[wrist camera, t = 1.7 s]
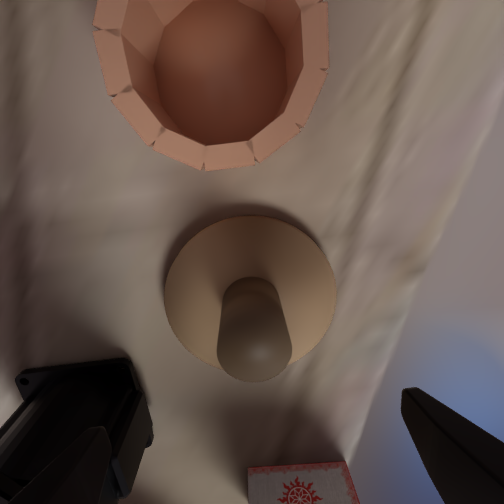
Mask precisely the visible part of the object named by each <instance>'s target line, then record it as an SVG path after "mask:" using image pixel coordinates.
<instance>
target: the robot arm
mask: <svg viewBox="0 0 504 504" xmlns="http://www.w3.org/2000/svg"><path fill="white" fill-rule="evenodd" d="M120 366H122V367H124V368H125V369H122V368H121V367H120ZM27 379H28V380H27ZM15 382H16V385H17V387H18V389H19V391H20V393H21V395H22V398H23V400H24V402H23V403H22V404H21V405H20V406H19V407H18V409H17V410H16V411H15V412H14V413H13V414H12V415H11V417H10V418H9V419H8V420H7V421H6V422H5V423H4V425H3V426H2V427H1V428H0V504H118V501H119V499H124V498H126V497H127V496H128V495H129V494H130V492H131V490H132V487H133V483H134V480H135V477H136V474H137V471H138V468H139V465H140V462H141V459H142V456H143V453H144V450H145V448H147V447H149V446H151V444H152V441H153V438H154V435H153V432H152V425H153V423H152V419H151V416H150V413H149V409H148V406H147V403H146V399H145V396H144V393H143V392H142V391H141V390H140V388H139V385H138V381H137V378H136V375H135V371H134V368H133V365H132V363H131V361H130V360H129V359H126V358H117V359H109V360H101V361H92V362H84V363H76V364H67V365H59V366H51V367H42V368H34V369H26V370H23V371H22V372H21V373H20V374H19V375H18V376H17V377H16V378H15ZM401 414H402V417H403V420H404V422H405V424H406V426H407V428H408V431H409V433H410V435H411V437H412V439H413V442H414V444H415V446H416V448H417V451H418V453H419V455H420V457H421V459H422V461H423V464H424V466H425V468H426V470H427V472H428V474H429V476H430V478H431V480H432V482H433V483H434V485H435V487H436V489H437V491H438V492H439V494H440V496H441V498H442V499H443V501H444V503H445V504H504V443H503V442H502V441H500V440H499V439H497V438H496V437H494V436H493V435H491V434H489V433H488V432H486V431H485V430H483V429H482V428H480V427H478V426H477V425H475V424H474V423H472V422H471V421H469V420H467V419H466V418H464V417H463V416H461V415H460V414H458V413H457V412H455V411H453V410H452V409H450V408H449V407H447V406H446V405H444V404H443V403H441V402H440V401H438V400H436V399H435V398H433V397H432V396H430V395H429V394H427V393H426V392H424V391H422V390H421V389H419V388H417V387H412V388H405V389H403V390H402V399H401Z"/></svg>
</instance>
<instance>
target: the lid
mask: <svg viewBox="0 0 504 504" xmlns="http://www.w3.org/2000/svg"><path fill="white" fill-rule="evenodd" d="M336 296H337V291H336V282H335V278H334V274H333V271H332V269H331V266H330V264H329V262H328V260H327V258H326V257H325V255H324V254H323V252H322V251H321V250H320V249H319V247H318V246H317V245H316V244H315V243H314V241H313V240H312V239H311V238H309V237H308V236H307V235H306V234H305V233H304V232H302V231H301V230H299V229H298V228H296V227H295V226H293V225H291V224H289V223H287V222H284V221H281V220H278V219H275V218H271V217H266V216H256V215H247V216H237V217H232V218H227V219H224V220H221V221H218V222H216V223H214V224H212V225H210V226H208V227H206V228H204V229H203V230H201V231H200V232H198V233H197V234H196V235H195V236H194V237H192V238H191V239H190V240H189V241H188V242H187V243H186V244H185V246H184V247H183V248H182V249H181V251H180V252H179V254H178V255H177V257H176V259H175V260H174V262H173V264H172V266H171V268H170V270H169V273H168V276H167V280H166V283H165V291H164V304H165V310H166V315H167V318H168V321H169V324H170V326H171V328H172V330H173V332H174V334H175V335H176V337H177V338H178V340H179V341H180V342H181V343H182V345H183V346H184V347H185V348H186V349H187V350H188V351H189V352H191V353H192V354H193V355H194V356H196V357H197V358H199V359H200V360H202V361H203V362H205V363H207V364H209V365H211V366H214V367H216V368H219V369H222V370H225V371H226V372H227V373H228V374H229V375H231V376H232V377H234V378H236V379H239V380H242V381H246V382H260V381H265V380H268V379H271V378H273V377H275V376H277V375H278V374H279V373H281V372H282V371H283V370H284V369H285V368H286V366H287V365H289V364H291V363H293V362H295V361H297V360H298V359H300V358H301V357H303V356H304V355H306V354H307V353H308V352H309V351H310V350H311V349H313V348H314V347H315V346H316V344H317V343H318V342H319V341H320V340H321V339H322V337H323V336H324V334H325V333H326V331H327V329H328V327H329V325H330V323H331V321H332V318H333V315H334V312H335V306H336Z"/></svg>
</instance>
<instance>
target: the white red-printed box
mask: <svg viewBox="0 0 504 504" xmlns="http://www.w3.org/2000/svg"><path fill="white" fill-rule="evenodd" d="M248 503H249V504H360V502H359V500H358V497H357V494H356V491H355V488H354V485H353V482H352V479H351V476H350V473H349V470H348V467H347V464H346V461H341V462H326V463H311V464H296V465H280V466H265V467H250V468H248Z"/></svg>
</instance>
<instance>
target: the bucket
mask: <svg viewBox="0 0 504 504" xmlns="http://www.w3.org/2000/svg"><path fill="white" fill-rule="evenodd" d="M322 1H323V0H98V2H97V6H96V11H95V15H94V19H93V24H92V25H94V26H95V27H96V28H97V29H98V31H93V35H94V39H95V44H96V48H97V52H98V56H99V60H100V64H101V68H102V72H103V76H104V80H105V85H106V89H107V93H108V95H109V96H112V97H114V98H113V99H112V100H111V101H112V103H113V104H114V105H115V106H116V108H117V109H118V110H119V111H120V112H121V114H122V115H123V116H124V117H125V119H126V120H127V121H128V122H129V123H130V125H131V126H132V127H133V128H134V130H135V131H136V132H137V133H138V135H139V136H140V137H141V138H142V139H143V141H144V142H145V143H146V144H147V146H151V147H153V150H154V151H157V152H159V153H161V154H164V155H166V156H168V157H171V158H173V159H175V160H178V161H180V162H182V163H184V164H187V165H189V166H191V167H194V168H196V169H198V170H203V169H205V170H206V171H212V170H220V169H228V168H236V167H244V166H252V165H255V161H257V162H258V163H261V162H262V161H263V160H264V159H266V158H267V157H268V156H270V155H271V154H272V153H273V152H275V151H276V150H277V149H279V148H280V147H281V146H282V145H284V144H285V143H286V142H288V141H289V140H290V139H292V138H293V137H294V136H295V135H297V134H298V133H299V132H301V131H300V128H303V127H304V126H305V124H306V122H307V120H308V117H309V115H310V113H311V111H312V108H313V106H314V104H315V102H316V99H317V97H318V95H319V93H320V91H321V88H322V86H323V84H324V82H325V79H326V77H327V75H328V73H326V72H325V71H326V70H327V69H328V68H329V37H328V2H322ZM254 160H255V161H254Z"/></svg>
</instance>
